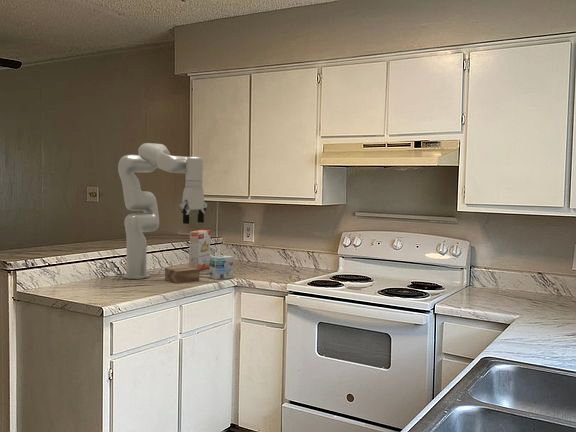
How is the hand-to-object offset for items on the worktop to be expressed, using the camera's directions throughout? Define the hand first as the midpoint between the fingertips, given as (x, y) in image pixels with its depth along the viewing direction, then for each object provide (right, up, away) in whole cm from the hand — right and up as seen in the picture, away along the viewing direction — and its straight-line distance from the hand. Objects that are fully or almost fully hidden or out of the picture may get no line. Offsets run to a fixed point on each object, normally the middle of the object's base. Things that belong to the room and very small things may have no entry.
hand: (193, 223), depth 267 cm
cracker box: (-6, -26, +58) cm, 64 cm away
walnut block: (-9, -28, +21) cm, 37 cm away
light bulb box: (+9, -28, +31) cm, 43 cm away
